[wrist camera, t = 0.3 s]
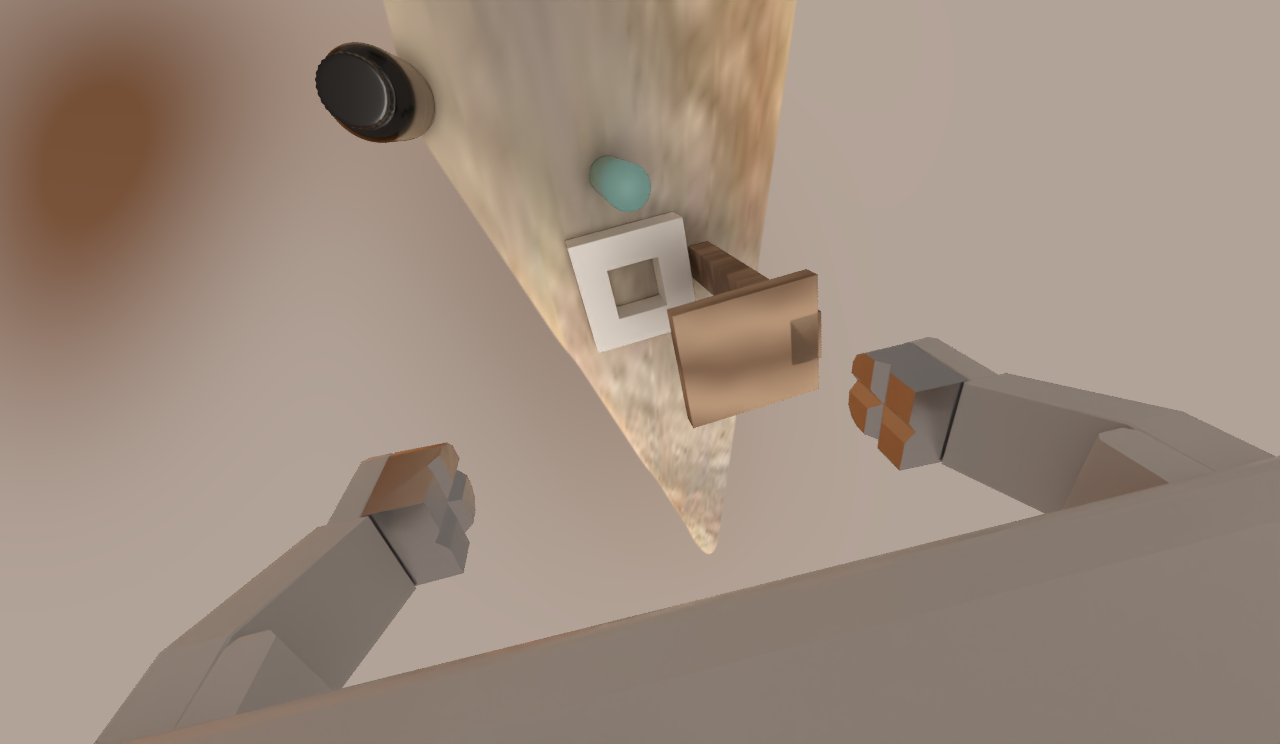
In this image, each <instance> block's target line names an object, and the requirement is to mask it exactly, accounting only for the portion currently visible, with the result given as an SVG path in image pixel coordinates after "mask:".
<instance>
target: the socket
mask: <svg viewBox="0 0 1280 744" xmlns="http://www.w3.org/2000/svg"><path fill="white" fill-rule="evenodd" d="M565 242H566V246H567V249H568V253H569V256H570V259H571V263H572V266H573V270H574V273H575V276H576V280H577V283H578V286H579V290H580V293H581V297H582V300H583V303H584V307H585V310H586V314H587V317H588V320H589V324H590V327H591V331H592V334H593V337H594V341H595V344H596V347H597V350H598V353H600V352H604V351H607V350H610V349H614V348H617V347H621V346H624V345H628V344H631V343H634V342H638V341H641V340H645V339H648V338H651V337H655V336H658V335H662V334H665V333H669V332H671V329H670V324H669V319H668V314H667V309H670V308H673V307H677V306H680V305H684V304H687V303H691V302H694V301H696V299H695V293H694V287H693V281H692V274H691V268H690V262H689V255H688V249H687V243H686V236H685V230H684V224H683V218H682V217H681V216H679V215H677V214H676V213H674V212H670V213H666V214H662V215H658V216H655V217H651V218H647V219H644V220H640V221H636V222H632V223H629V224H625V225H621V226H618V227H614V228H610V229H606V230H603V231H599V232H595V233H592V234H588V235H584V236H580V237H577V238H573V239H569V240H566V241H565ZM648 259H652V262H653V267H654V272H655V277H656V282H657V287H658V292H659V295H657V296H653V297H650V298H646V299H643V300H639V301H636V302H632V303H629V304H625V305H622V306H618V307H616V304H615V300H614V297H613V293H612V289H611V285H610V281H609V277H608V273H607V271H608V270H612V269H616V268H619V267H623V266H627V265H630V264H634V263H637V262H641V261H645V260H648Z"/></svg>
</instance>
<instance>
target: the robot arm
mask: <svg viewBox="0 0 1280 744" xmlns="http://www.w3.org/2000/svg"><path fill="white" fill-rule="evenodd" d="M852 374H853V375H854V376H855V378H856V379H857V382H856V383H855V384H854V386H853V387H852V388H851V390H850V392H849V404H848V405H849V408H850V412H851V416H852V418H853V420H854V422H855V424H856V425H857V427H858V428H859V429H860V430H861V431H862V432H863V433H864V434H866V435H868V436H871V437H874V438H876V439H878V449H879V450H880V451H881V452H882V453H883V454H884V455H885V456H886V457H887V458H888V459H889V460H890V461H891V462H892V463H893V464H894V466H895V467H896V468H897V469H898V470H904V469H909V468H914V467H919V466H923V465H928V464H933V463H938V462H942V464H943V465H946V466H947V467H949V468H952V469H954V470H956V471H958V472H960V473H962V474H964V475H966V476H968V477H970V478H972V479H974V480H977V481H979V482H981V483H983V484H985V485H987V486H989V487H991V488H993V489H995V490H997V491H999V492H1002V493H1004V494H1006V495H1008V496H1010V497H1012V498H1014V499H1016V500H1018V501H1020V502H1022V503H1024V504H1026V505H1028V506H1031V507H1033V508H1035V509H1037V510H1039V511H1041V512H1043V513H1045V514H1043V515H1039V516H1035V517H1031V518H1027V519H1023V520H1019V521H1015V522H1011V523H1007V524H1003V525H998V526H994V527H990V528H987V529H983V530H979V531H974V532H970V533H967V534H962V535H958V536H954V537H950V538H946V539H942V540H938V541H934V542H930V543H926V544H922V545H918V546H914V547H910V548H906V549H902V550H898V551H894V552H890V553H886V554H882V555H878V556H874V557H870V558H866V559H862V560H858V561H853V562H849V563H846V564H842V565H838V566H833V567H830V568H825V569H822V570H817V571H813V572H809V573H806V574H801V575H797V576H793V577H789V578H785V579H781V580H777V581H773V582H769V583H765V584H761V585H757V586H753V587H749V588H745V589H741V590H737V591H733V592H729V593H725V594H720V595H716V596H713V597H709V598H704V599H700V600H696V601H693V602H688V603H684V604H680V605H676V606H672V607H668V608H664V609H660V610H656V611H652V612H648V613H644V614H640V615H636V616H632V617H628V618H624V619H620V620H616V621H612V622H608V623H603V624H599V625H596V626H591V627H587V628H583V629H579V630H576V631H571V632H567V633H563V634H559V635H555V636H551V637H547V638H543V639H539V640H535V641H531V642H527V643H523V644H519V645H515V646H511V647H507V648H503V649H499V650H495V651H491V652H487V653H483V654H479V655H475V656H470V657H467V658H462V659H459V660H455V661H451V662H446V663H442V664H438V665H434V666H431V667H427V668H422V669H418V670H414V671H410V672H406V673H402V674H398V675H394V676H390V677H386V678H382V679H378V680H374V681H370V682H366V683H362V684H358V685H354V686H350V687H346V688H342V687H343V686H344V684H345V683H346V682H347V680H348V679H349V678H350V676H351V675H352V674H353V672H354V671H355V670H356V668H357V667H358V666H359V664H360V663H361V662H362V660H363V659H364V658H365V656H366V655H367V654H368V652H369V651H370V650H371V648H372V647H373V646H374V644H375V643H376V642H377V640H378V639H379V637H380V636H381V635H382V633H383V632H384V631H385V629H386V628H387V626H388V625H389V624H390V623H391V621H392V620H393V619H394V617H395V616H396V615H397V613H398V612H399V610H400V609H401V608H402V607H403V605H404V604H405V602H406V601H407V600H408V598H409V597H410V596H411V594H412V593H413V592H414V590H415V589H416V587H415V586H417V585H420V584H424V583H428V582H431V581H436V580H439V579H443V578H447V577H451V576H454V575H458V574H462V573H464V568H465V562H466V558H467V553H468V547H469V540H468V538H467V536H466V534H465V532H466V531H467V530H468V529H469V527H470V526H471V525H472V524H473V522H474V516H475V496H474V493H473V489H472V485H471V483H470V480H469V478H468V476H467V475H465V474H464V473H462V472H460V471H458V470H457V466H458V462H459V457H458V455H457V453H456V451H455V449H454V447H453V445H450V444H448V443H442V444H437V445H431V446H426V447H421V448H416V449H411V450H406V451H401V452H396V453H394V454H392V453H390V454H386V455H382V456H377V457H372V458H368V459H367V460H365V461H362V462H361V464H360V466H359V467H358V469H357V471H356V473H355V474H354V476H353V478H352V480H351V482H350V483H349V485H348V487H347V489H346V491H345V493H344V494H343V496H342V498H341V500H340V502H339V503H338V505H337V507H336V509H335V511H334V513H333V514H332V516H331V518H330V520H329V522H328V524H327V525H325V526H321V527H317V528H316V529H315V530H313V531H312V532H311V533H310V534H308V535H307V536H306V537H305V538H304V539H302V540H301V541H300V542H298V543H297V544H296V545H294V546H293V547H292V548H291V549H289V550H288V551H287V552H286V553H284V554H283V555H282V556H281V557H279V558H278V559H277V560H276V561H275V562H273V563H272V564H271V565H269V566H268V567H267V568H266V569H264V570H263V571H262V572H261V573H259V574H258V575H257V576H256V577H254V578H253V579H252V580H251V581H250V582H248V583H247V584H246V585H244V586H243V587H242V588H241V589H239V590H238V591H237V592H236V593H234V594H233V595H232V596H231V597H229V598H228V599H227V600H226V601H224V602H223V603H222V604H221V605H219V606H218V607H217V608H216V609H214V610H213V611H212V612H211V613H210V614H208V615H207V616H206V617H204V618H203V619H202V620H201V621H199V622H198V623H197V624H196V625H194V626H193V627H192V628H191V629H189V630H188V631H187V632H185V633H184V634H183V635H182V636H180V637H179V638H178V639H177V640H175V641H174V642H173V643H172V644H170V645H169V646H168V647H167V648H165V649H164V650H163V651H162V652H160V654H159V655H158V656H157V657H156V659H155V660H154V662H153V663H152V664H151V666H150V667H149V669H148V670H147V671H146V673H145V674H144V675H143V677H142V678H141V680H140V681H139V682H138V684H137V685H136V687H135V688H134V689H133V691H132V692H131V693H130V695H129V696H128V697H127V699H126V700H125V702H124V703H123V704H122V706H121V707H120V708H119V710H118V711H117V713H116V714H115V715H114V717H113V718H112V719H111V721H110V722H109V724H108V725H107V726H106V728H105V729H104V730H103V732H102V733H101V735H100V736H99V737H98V739H97V740H96V741H95V743H94V744H1280V456H1278V457H1276V456H1274V455H1272V454H1270V453H1267V452H1265V451H1263V450H1261V449H1259V448H1257V447H1255V446H1253V445H1251V444H1249V443H1247V442H1245V441H1242V440H1241V439H1238V438H1236V437H1234V436H1232V435H1230V434H1228V433H1226V432H1224V431H1222V430H1220V429H1218V428H1216V427H1214V426H1211V425H1209V424H1207V423H1205V422H1203V421H1201V420H1199V419H1197V418H1195V417H1193V416H1190V415H1188V414H1187V413H1184V412H1182V411H1177V410H1173V409H1168V408H1164V407H1159V406H1154V405H1150V404H1145V403H1141V402H1136V401H1132V400H1127V399H1122V398H1117V397H1113V396H1108V395H1104V394H1099V393H1095V392H1090V391H1086V390H1081V389H1077V388H1072V387H1067V386H1062V385H1058V384H1053V383H1049V382H1044V381H1040V380H1035V379H1031V378H1026V377H1022V376H1017V375H1012V374H1008V373H1004V374H1000V375H998V374H996V373H994V372H993V371H991V370H989V369H988V368H986V367H984V366H983V365H981V364H979V363H978V362H976V361H974V360H972V359H971V358H969V357H967V356H966V355H964V354H962V353H960V352H959V351H957V350H956V349H954V348H952V347H950V346H949V345H947V344H945V343H944V342H942V341H940V340H939V339H936V338H930V337H927V338H923V339H919V340H915V341H911V342H907V343H904V344H902V345H897V346H892V347H889V348H884V349H879V350H875V351H871V352H867V353H862V354H858V355H856V357H855V359H854V361H853V367H852Z"/></svg>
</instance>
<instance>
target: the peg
mask: <svg viewBox="0 0 1280 744" xmlns="http://www.w3.org/2000/svg"><path fill="white" fill-rule="evenodd" d="M590 181H591V184H592V186H593V188H594V189H595V190H596V191H597V192H598V193H599V194H600V195H602V196H603V197H604V198H605V199H606V200H607V201H608V202H609V203H610V204H612V205H613V206H614V207H615V208H616V209H618V210H620V211H624V212H633V211H636V210H638V209H640V208H641V207H642V206H643V205H644V204H645V203H646V202H647V200H648V198H649V195H650V191H651V183H650V179H649V176H648V174H647V173H646V171H645V170H644V169H643V168H642V167H640V166H639V165H637V164H634V163H631V162H628V161H625V160H622V159H618V158H615V157H612V156H602V157H600V158H598V159H597V160H596V161H595V162H594V163H593V164H592V166H591V169H590Z"/></svg>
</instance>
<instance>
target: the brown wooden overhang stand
mask: <svg viewBox="0 0 1280 744" xmlns="http://www.w3.org/2000/svg"><path fill="white" fill-rule="evenodd" d="M689 253H690V259H691V266H692V272H693V278H695V279H696V280H697V281H698V282H699V283H700V284H701V285H702V286H703V287H705V288H706V289H707V290H708V291H709V292H710V293H711V294H712V295H714V296H712V297H708V298H705V299H701V300H698V301H694V302H691V303H687V304H684V305H680V306H677V307H673V308H670V309H667V314H668V319H669V324H670V329H671V334H672V340H673V345H674V350H675V355H676V360H677V365H678V370H679V375H680V380H681V385H682V391H683V396H684V401H685V406H686V411H687V416H688V419H689V421H690V423H691V425H692V426H693V428H696V427H699V426H702V425H705V424H708V423H712V422H715V421H718V420H721V419H724V418H728V417H731V416H734V415H737V414H740V413H743V412H747V411H750V410H753V409H756V408H759V407H763V406H766V405H769V404H772V403H775V402H779V401H782V400H785V399H788V398H792V397H795V396H798V395H801V394H805V393H807V392H811V391H814V390H817V389H819V364H818V362H819V361H818V360H819V359H818V358H820V357H821V311H819V310H818V278H817V277H818V275H817V274H815V273H813V272H811V271H809V270H807V269H805V270H802V271H798V272H795V273H792V274H788V275H784V276H781V277H777V278H774V279H771V280H769V279H768V278H766V277H765V276H763V275H761V274H760V273H758V272H757V271H755V270H753V269H752V268H750V267H748V266H747V265H745V264H744V263H742V262H740V261H739V260H737V259H736V258H734V257H732V256H731V255H729V254H728V253H726V252H724V251H723V250H721V249H720V248H718V247H716V246H715V245H713V244H711V243H710V242H708V241H707V242H703V243H699V244H696V245H692V246H689Z"/></svg>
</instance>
